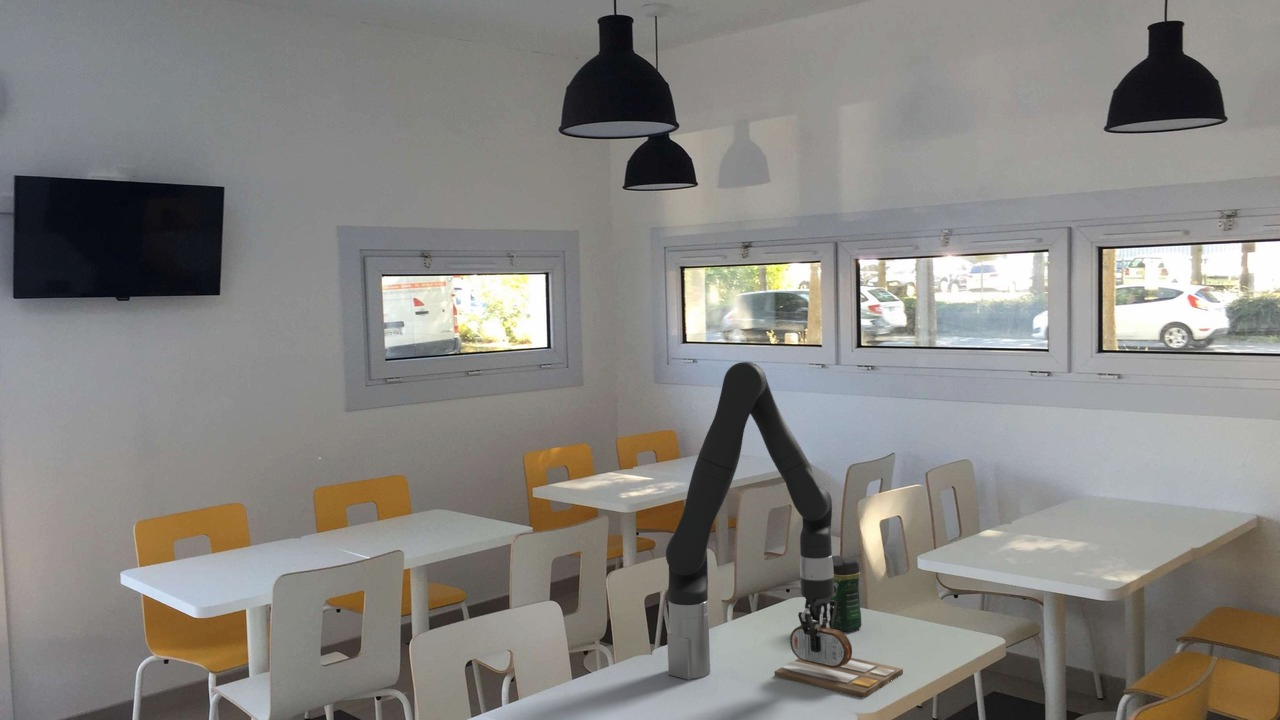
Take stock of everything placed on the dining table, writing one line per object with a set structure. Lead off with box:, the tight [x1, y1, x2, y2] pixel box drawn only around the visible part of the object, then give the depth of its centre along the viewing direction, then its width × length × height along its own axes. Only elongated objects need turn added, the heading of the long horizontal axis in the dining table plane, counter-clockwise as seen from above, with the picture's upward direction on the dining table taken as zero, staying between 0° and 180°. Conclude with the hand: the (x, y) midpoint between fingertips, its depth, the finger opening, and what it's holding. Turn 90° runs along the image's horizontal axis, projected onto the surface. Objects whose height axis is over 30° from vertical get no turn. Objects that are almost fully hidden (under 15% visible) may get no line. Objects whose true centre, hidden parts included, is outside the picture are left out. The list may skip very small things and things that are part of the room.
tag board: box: [774, 657, 904, 699], centre depth 235 cm, size 18×23×2 cm
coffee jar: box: [830, 554, 862, 632], centre depth 270 cm, size 10×8×19 cm
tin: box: [789, 624, 853, 668], centre depth 233 cm, size 15×3×8 cm, turn 49°
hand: (819, 649), depth 233 cm, fingers closed on tin, 2 cm apart
